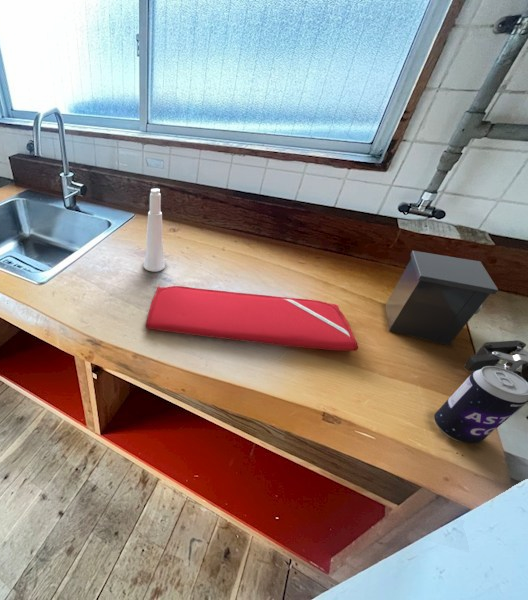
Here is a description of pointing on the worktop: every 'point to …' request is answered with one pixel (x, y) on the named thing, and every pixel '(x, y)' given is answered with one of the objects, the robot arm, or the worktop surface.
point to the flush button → (478, 309)
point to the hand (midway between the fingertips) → (498, 388)
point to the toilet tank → (437, 296)
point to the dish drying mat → (251, 318)
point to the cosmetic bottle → (154, 234)
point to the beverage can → (482, 404)
